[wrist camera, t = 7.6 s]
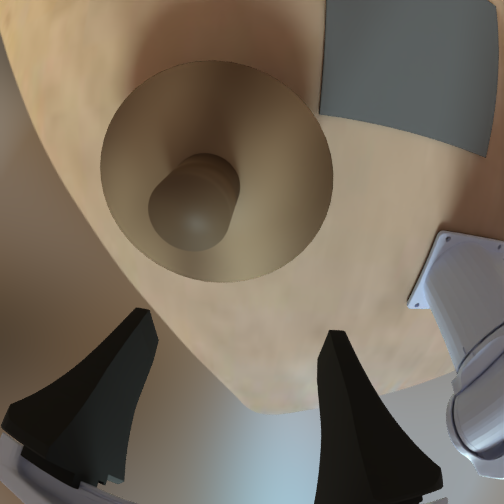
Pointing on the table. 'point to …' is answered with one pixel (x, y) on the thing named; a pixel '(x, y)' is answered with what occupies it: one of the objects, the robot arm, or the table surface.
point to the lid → (216, 171)
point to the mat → (414, 67)
